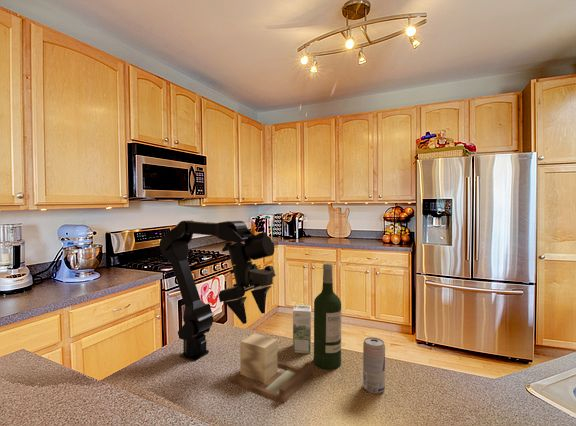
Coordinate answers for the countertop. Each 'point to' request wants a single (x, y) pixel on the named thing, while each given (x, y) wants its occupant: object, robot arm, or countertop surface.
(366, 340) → the energy drink
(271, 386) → the tray
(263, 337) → the maple block
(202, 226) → the robot arm
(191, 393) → the countertop surface
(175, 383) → the countertop surface
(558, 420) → the countertop surface
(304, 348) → the syrup box
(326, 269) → the wine bottle
